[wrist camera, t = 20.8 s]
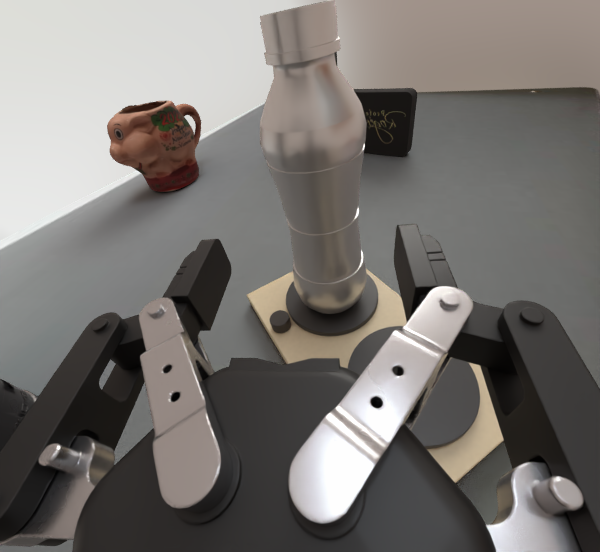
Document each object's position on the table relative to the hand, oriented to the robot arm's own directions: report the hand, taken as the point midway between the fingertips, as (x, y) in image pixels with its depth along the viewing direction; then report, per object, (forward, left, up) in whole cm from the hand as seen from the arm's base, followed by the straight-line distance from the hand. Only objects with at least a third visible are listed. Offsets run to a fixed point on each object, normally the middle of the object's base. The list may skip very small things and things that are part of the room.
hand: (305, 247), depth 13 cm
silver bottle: (+5, +6, -12) cm, 15 cm away
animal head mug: (-1, +55, -14) cm, 56 cm away
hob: (+4, +1, -14) cm, 15 cm away
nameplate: (+31, +36, -14) cm, 50 cm away
